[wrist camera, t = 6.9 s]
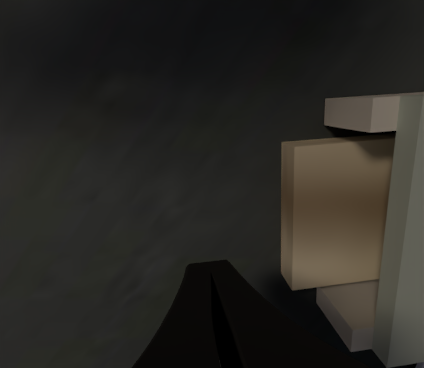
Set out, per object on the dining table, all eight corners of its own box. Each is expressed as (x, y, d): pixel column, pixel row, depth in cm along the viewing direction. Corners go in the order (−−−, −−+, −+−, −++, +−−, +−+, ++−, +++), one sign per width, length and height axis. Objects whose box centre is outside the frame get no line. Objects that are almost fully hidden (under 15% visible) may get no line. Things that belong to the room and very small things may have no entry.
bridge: (433, 286, 17) (518, 346, 13) (316, 302, 16) (364, 371, 12) (468, 88, 14) (592, 83, 10) (325, 98, 13) (393, 97, 9)
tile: (412, 251, 17) (442, 270, 15) (278, 268, 16) (292, 290, 14) (429, 128, 15) (467, 132, 13) (278, 140, 14) (294, 146, 12)
